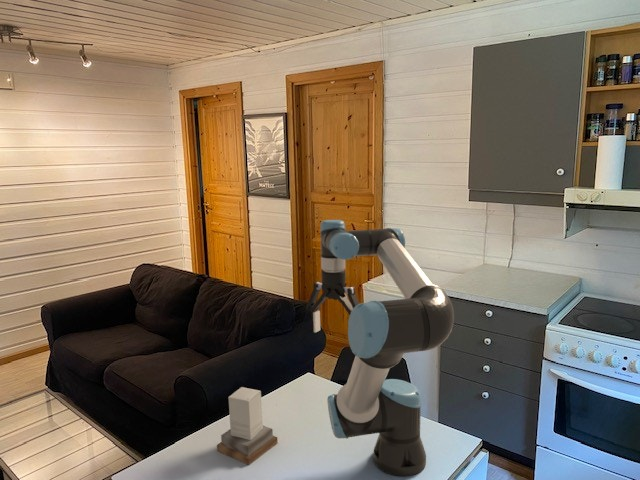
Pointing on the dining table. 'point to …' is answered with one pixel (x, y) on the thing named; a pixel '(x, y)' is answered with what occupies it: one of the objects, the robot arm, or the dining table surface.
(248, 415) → the supplement box
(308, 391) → the dining table surface
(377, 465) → the robot arm
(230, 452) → the tower plinth
